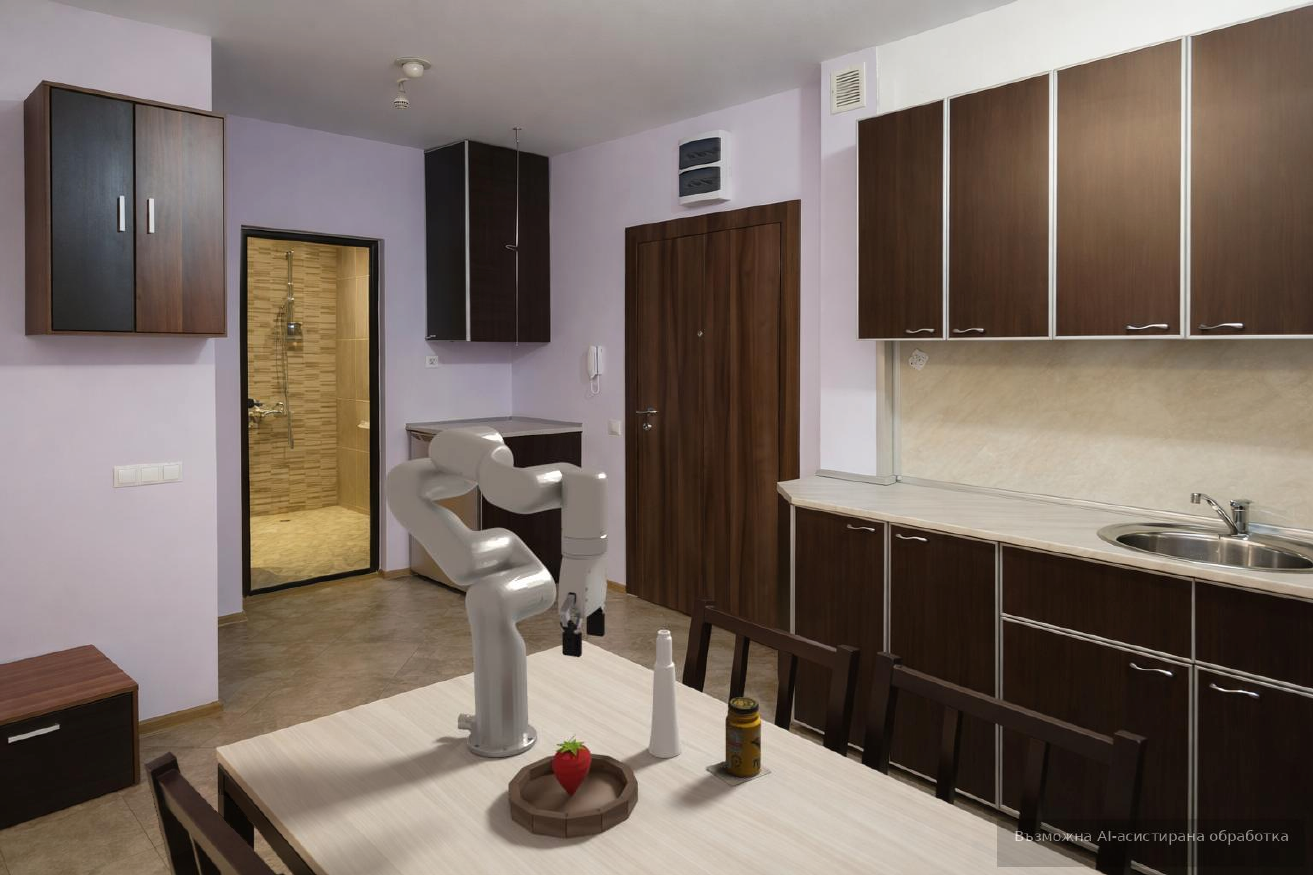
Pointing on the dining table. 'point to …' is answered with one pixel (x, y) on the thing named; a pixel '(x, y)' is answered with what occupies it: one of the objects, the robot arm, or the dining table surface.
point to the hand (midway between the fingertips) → (584, 645)
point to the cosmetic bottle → (664, 702)
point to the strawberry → (571, 765)
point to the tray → (573, 798)
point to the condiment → (741, 743)
